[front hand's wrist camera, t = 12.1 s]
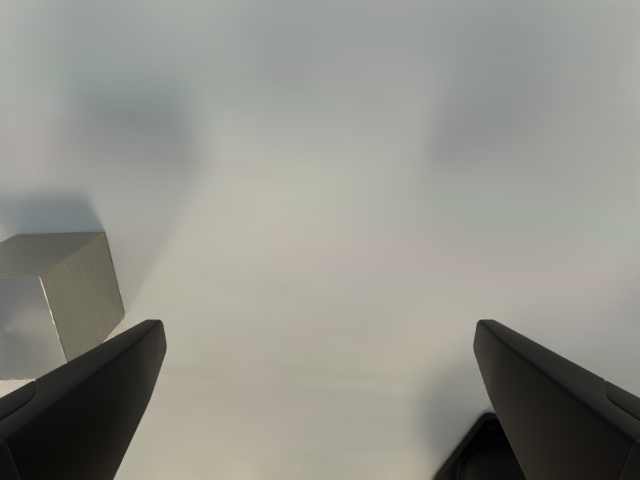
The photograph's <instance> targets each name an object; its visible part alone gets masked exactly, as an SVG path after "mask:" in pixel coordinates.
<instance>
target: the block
mask: <svg viewBox="0 0 640 480" xmlns="http://www.w3.org/2000/svg"><path fill="white" fill-rule="evenodd" d="M123 318H124V311H123V307H122V303H121V299H120V295H119V291H118V286H117V282H116V278H115V274H114V270H113V266H112V261H111V257H110V253H109V249H108V245H107V241H106V236H105V233H104V232H90V233H59V234H27V235H15V236H13V237H10V238H8V239H6V240H4V241H2V242H0V380H27V379H37V378H39V377H41V376H43V375H45V374H47V373H49V372H50V371H52V370H54V369H56V368H58V367H60V366H61V365H63V364H65V363H67V362H69V361H71V360H73V359H74V358H76V357H78V356H80V355H82V354H84V353H86V352H87V351H89V350H91V349H93V348H95V347H97V346H99V345H100V344H102V343H103V341H104V340H105V339H106V338H107V337H108V336H109V334H110V333H111V332H112V331H113V330H114V329H115V327H116V326H117V325H118V324H119V323H120V321H121V320H122V319H123Z"/></svg>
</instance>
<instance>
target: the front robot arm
mask: <svg viewBox="0 0 640 480" xmlns="http://www.w3.org/2000/svg"><path fill="white" fill-rule="evenodd" d="M166 347H167V345H166V338H165V332H164V326H163V323H162V321H161V320H145V321H143V322H141V323H139V324H138V325H136V326H134V327H132V328H130V329H128V330H126V331H125V332H123V333H121V334H119V335H117V336H115V337H113V338H112V339H110V340H108V341H106V342H104V343H102V344H100V345H99V346H97V347H95V348H93V349H91V350H89V351H87V352H86V353H84V354H82V355H80V356H78V357H76V358H74V359H73V360H71V361H69V362H67V363H65V364H63V365H61V366H60V367H58V368H56V369H54V370H52V371H50V372H49V373H47V374H45V375H43V376H41V377H39V378H37V379H36V380H35V381H32V382H30V383H28V384H26V385H24V386H22V387H21V388H19V389H17V390H15V391H13V392H11V393H9V394H7V395H5V396H3V397H1V398H0V480H113V479H114V477H115V475H116V473H117V470H118V468H119V466H120V464H121V462H122V460H123V457H124V455H125V453H126V451H127V449H128V447H129V444H130V442H131V440H132V438H133V436H134V434H135V431H136V429H137V427H138V425H139V423H140V421H141V418H142V416H143V414H144V412H145V410H146V408H147V405H148V403H149V401H150V398H151V396H152V393H153V390H154V387H155V384H156V381H157V378H158V375H159V372H160V369H161V365H162V362H163V359H164V356H165V353H166ZM473 348H474V353H475V356H476V359H477V362H478V366H479V369H480V372H481V375H482V378H483V381H484V384H485V387H486V390H487V393H488V396H489V398H490V401H491V403H492V405H493V408H494V410H495V412H496V414H494V413H486V414H484V415H483V416H482V417H481V418H480V419H479V421H478V422H477V423H476V425H475V426H474V427H473V429H472V430H471V431H470V433H469V434H468V435H467V437H466V438H465V439H464V440H463V442H462V443H461V444H460V446H459V447H458V448H457V450H456V451H455V452H454V454H453V455H452V456H451V458H450V459H449V460H448V462H447V463H446V464H445V466H444V467H443V468H442V470H441V471H440V472H439V473H438V475H437V476H436V477H435V479H434V480H640V398H639V397H637V396H635V395H633V394H631V393H629V392H627V391H625V390H623V389H621V388H619V387H618V386H616V385H614V384H612V383H610V382H608V381H605V380H604V379H603V378H601V377H599V376H597V375H595V374H593V373H592V372H590V371H588V370H586V369H584V368H582V367H580V366H579V365H577V364H575V363H573V362H571V361H569V360H567V359H566V358H564V357H562V356H560V355H558V354H556V353H554V352H553V351H551V350H549V349H547V348H545V347H543V346H541V345H540V344H538V343H536V342H534V341H532V340H530V339H528V338H527V337H525V336H523V335H521V334H519V333H517V332H515V331H514V330H512V329H510V328H508V327H506V326H504V325H502V324H501V323H499V322H497V321H495V320H479V321H478V323H477V326H476V332H475V338H474V345H473ZM489 422H491V423H489Z"/></svg>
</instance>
